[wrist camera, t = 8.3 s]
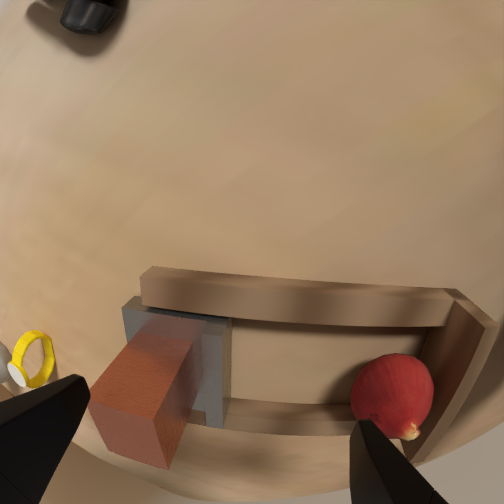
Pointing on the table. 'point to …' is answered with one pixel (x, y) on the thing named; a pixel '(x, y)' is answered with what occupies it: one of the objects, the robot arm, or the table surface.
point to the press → (162, 381)
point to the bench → (338, 313)
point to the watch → (17, 360)
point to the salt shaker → (4, 363)
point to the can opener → (87, 16)
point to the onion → (393, 395)
